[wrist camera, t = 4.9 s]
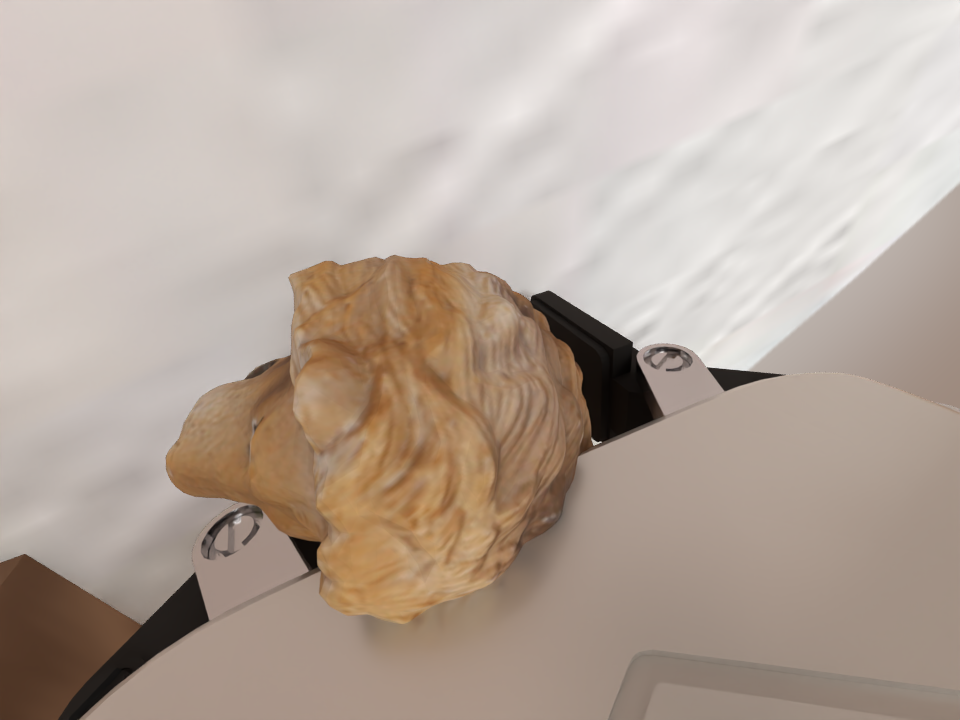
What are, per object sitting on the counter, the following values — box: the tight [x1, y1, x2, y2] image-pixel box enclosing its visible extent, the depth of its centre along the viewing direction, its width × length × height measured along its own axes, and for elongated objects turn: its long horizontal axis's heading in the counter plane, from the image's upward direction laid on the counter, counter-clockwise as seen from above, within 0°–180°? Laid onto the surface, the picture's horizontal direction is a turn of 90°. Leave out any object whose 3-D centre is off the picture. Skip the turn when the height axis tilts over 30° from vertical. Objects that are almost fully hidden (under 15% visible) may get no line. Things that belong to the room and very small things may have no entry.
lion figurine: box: [166, 255, 593, 624], centre depth 10 cm, size 15×5×9 cm, turn 27°
